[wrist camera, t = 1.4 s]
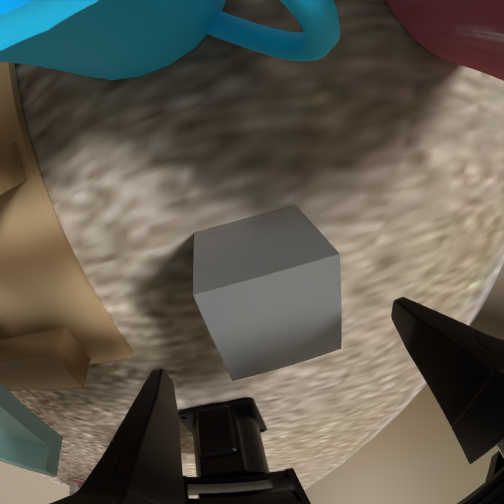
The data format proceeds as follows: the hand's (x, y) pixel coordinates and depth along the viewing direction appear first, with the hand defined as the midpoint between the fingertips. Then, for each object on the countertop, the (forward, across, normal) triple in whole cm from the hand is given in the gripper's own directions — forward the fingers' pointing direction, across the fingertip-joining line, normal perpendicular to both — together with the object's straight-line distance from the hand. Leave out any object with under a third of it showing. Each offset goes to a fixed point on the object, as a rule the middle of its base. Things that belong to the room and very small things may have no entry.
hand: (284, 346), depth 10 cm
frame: (+6, +18, -5) cm, 20 cm away
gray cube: (+6, 0, 0) cm, 6 cm away
